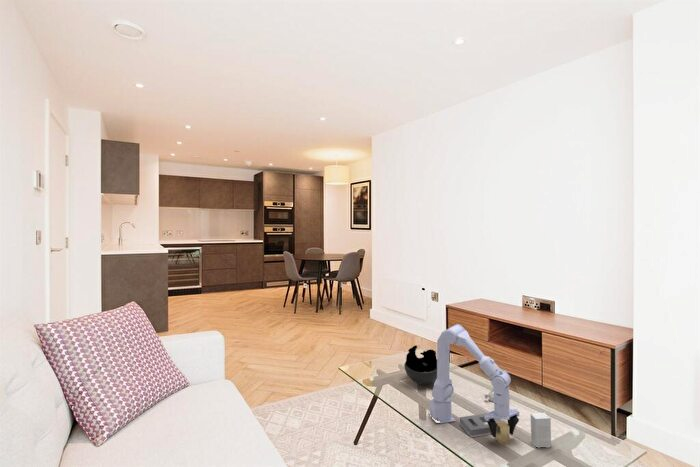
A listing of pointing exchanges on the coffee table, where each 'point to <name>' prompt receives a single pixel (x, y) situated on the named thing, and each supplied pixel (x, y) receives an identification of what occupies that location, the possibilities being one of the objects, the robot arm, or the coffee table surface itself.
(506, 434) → the square bit
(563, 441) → the coffee table surface
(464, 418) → the bit holder
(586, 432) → the coffee table surface
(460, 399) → the coffee table surface
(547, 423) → the skincare box
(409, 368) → the coal bowl
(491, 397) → the soldier figure
